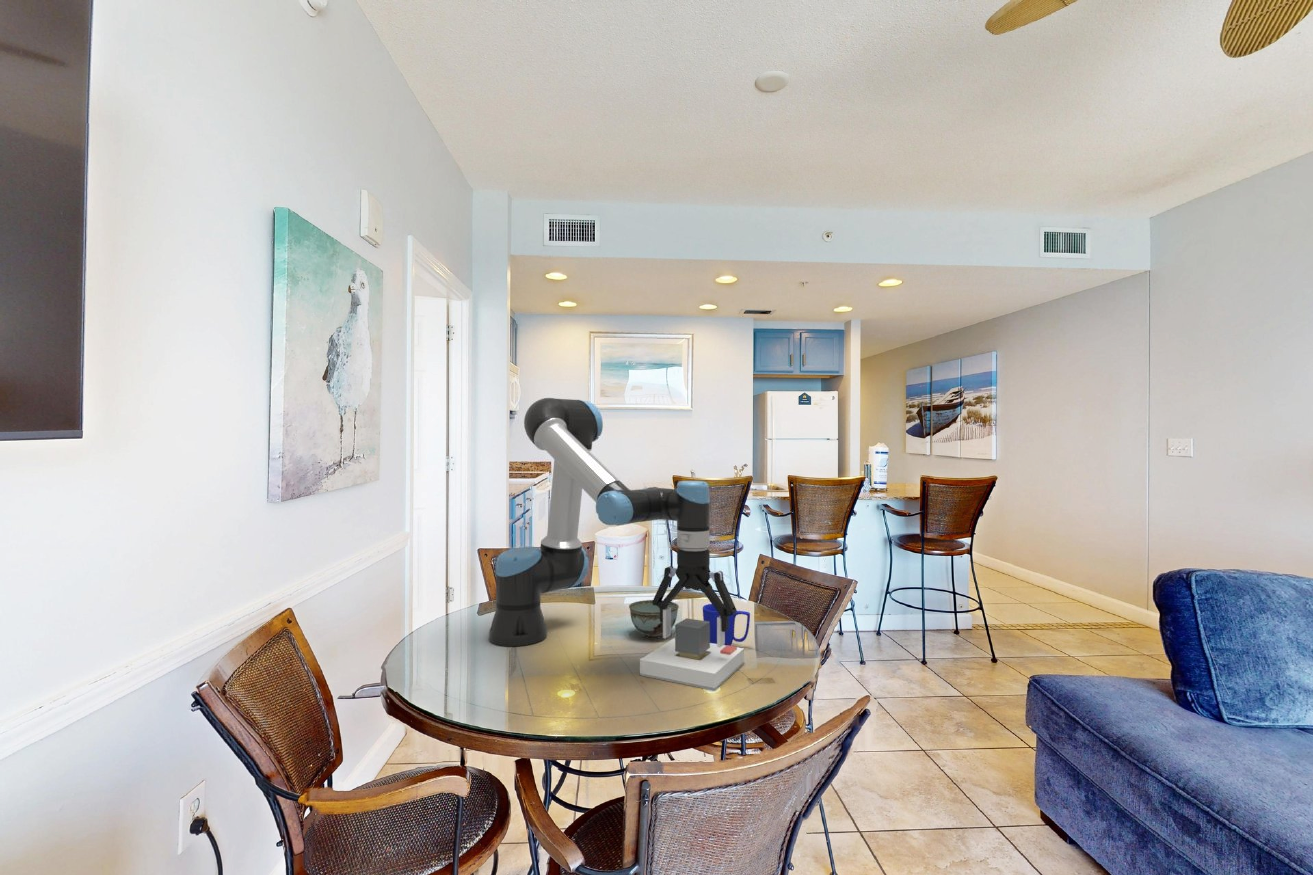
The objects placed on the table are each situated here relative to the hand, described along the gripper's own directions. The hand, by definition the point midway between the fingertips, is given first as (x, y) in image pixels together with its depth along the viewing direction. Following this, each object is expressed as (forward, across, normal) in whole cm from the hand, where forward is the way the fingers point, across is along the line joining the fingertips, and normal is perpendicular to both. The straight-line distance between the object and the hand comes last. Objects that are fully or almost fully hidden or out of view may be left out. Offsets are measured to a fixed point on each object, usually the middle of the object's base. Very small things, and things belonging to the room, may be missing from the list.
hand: (693, 641), depth 138 cm
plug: (+6, 0, 0) cm, 6 cm away
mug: (+7, +1, +18) cm, 19 cm away
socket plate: (+6, 0, 0) cm, 6 cm away
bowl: (+7, -20, +18) cm, 28 cm away
